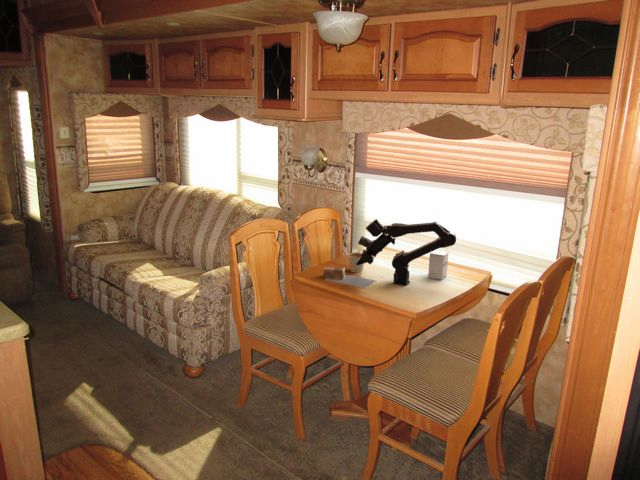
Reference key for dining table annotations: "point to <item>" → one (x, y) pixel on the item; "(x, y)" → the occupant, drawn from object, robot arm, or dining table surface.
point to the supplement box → (438, 265)
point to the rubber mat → (353, 281)
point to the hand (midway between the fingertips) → (356, 264)
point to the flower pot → (353, 260)
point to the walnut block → (334, 273)
